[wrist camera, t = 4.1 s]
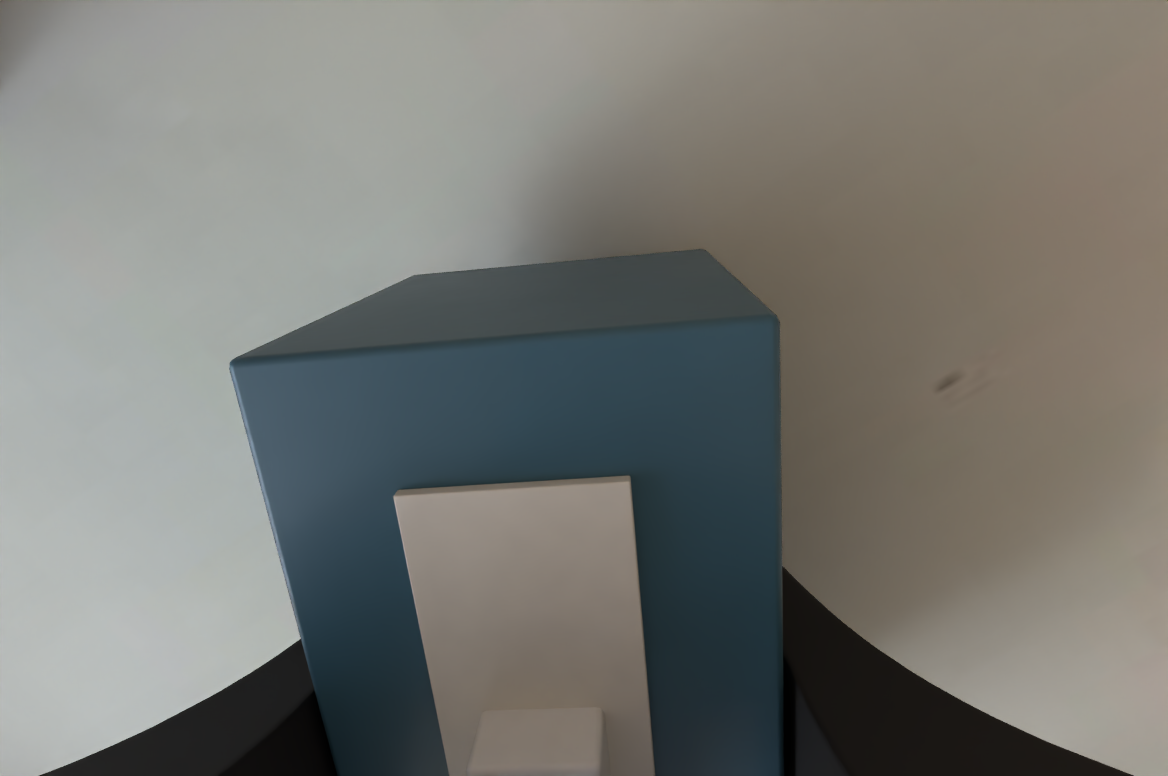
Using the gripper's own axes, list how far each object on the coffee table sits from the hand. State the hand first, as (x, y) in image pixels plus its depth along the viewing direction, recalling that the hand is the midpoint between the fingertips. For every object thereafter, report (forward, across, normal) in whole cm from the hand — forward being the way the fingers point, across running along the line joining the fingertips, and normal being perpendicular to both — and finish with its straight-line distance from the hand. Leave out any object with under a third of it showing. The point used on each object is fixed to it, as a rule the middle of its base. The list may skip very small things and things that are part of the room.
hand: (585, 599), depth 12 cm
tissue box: (+2, 0, 0) cm, 2 cm away
